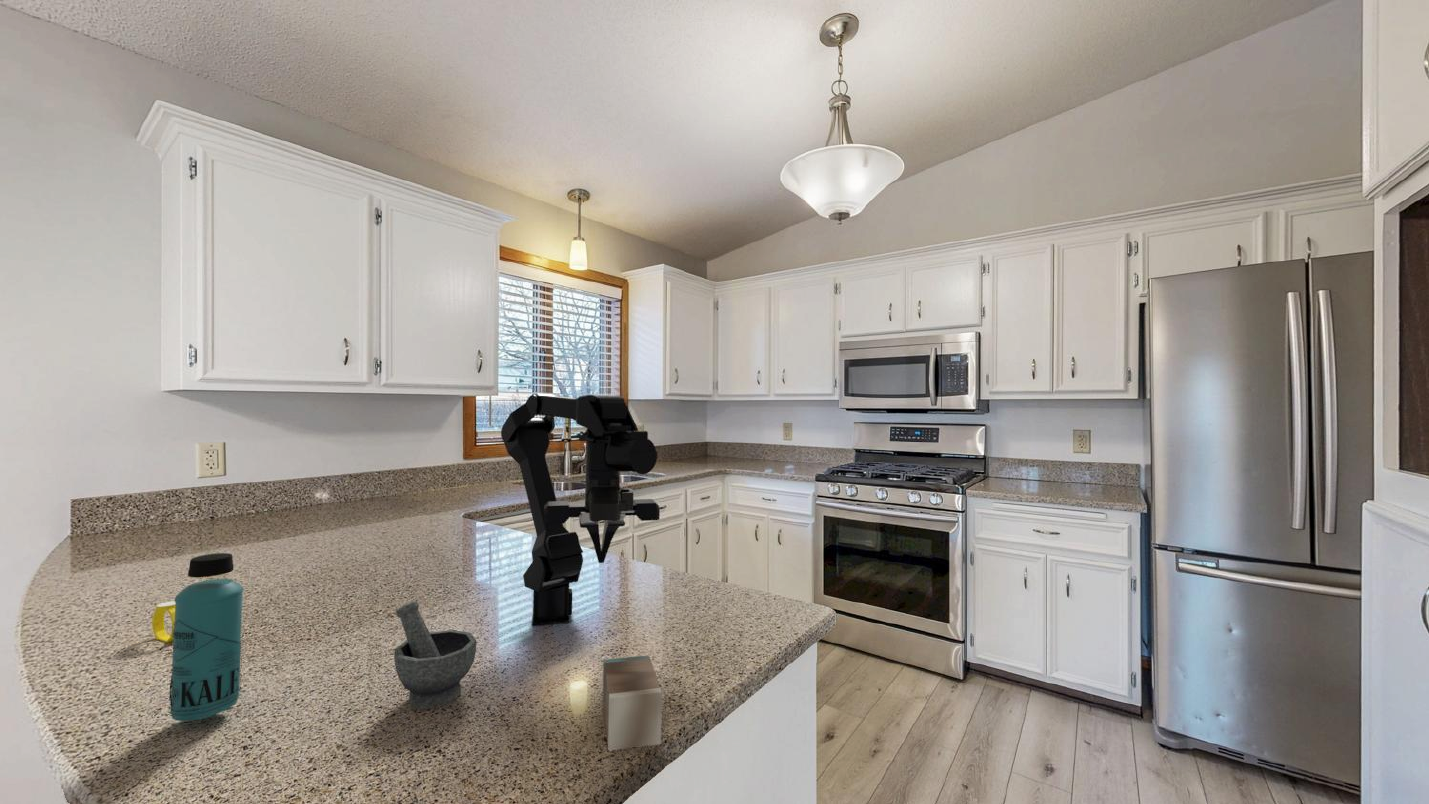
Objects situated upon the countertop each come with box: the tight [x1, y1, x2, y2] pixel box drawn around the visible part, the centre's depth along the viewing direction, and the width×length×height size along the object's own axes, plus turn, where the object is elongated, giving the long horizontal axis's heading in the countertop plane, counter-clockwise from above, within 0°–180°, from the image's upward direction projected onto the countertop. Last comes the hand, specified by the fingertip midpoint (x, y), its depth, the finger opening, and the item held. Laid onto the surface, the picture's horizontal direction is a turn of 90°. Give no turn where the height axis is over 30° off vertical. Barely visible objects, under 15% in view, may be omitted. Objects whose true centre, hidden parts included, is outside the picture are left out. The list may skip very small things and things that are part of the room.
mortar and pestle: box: [393, 601, 477, 710], centre depth 74 cm, size 11×9×12 cm
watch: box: [151, 600, 175, 644], centre depth 90 cm, size 6×3×6 cm, turn 69°
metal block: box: [601, 655, 663, 752], centre depth 68 cm, size 6×6×10 cm
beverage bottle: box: [168, 552, 244, 722], centre depth 68 cm, size 6×7×20 cm
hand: (601, 562), depth 93 cm, fingers closed
